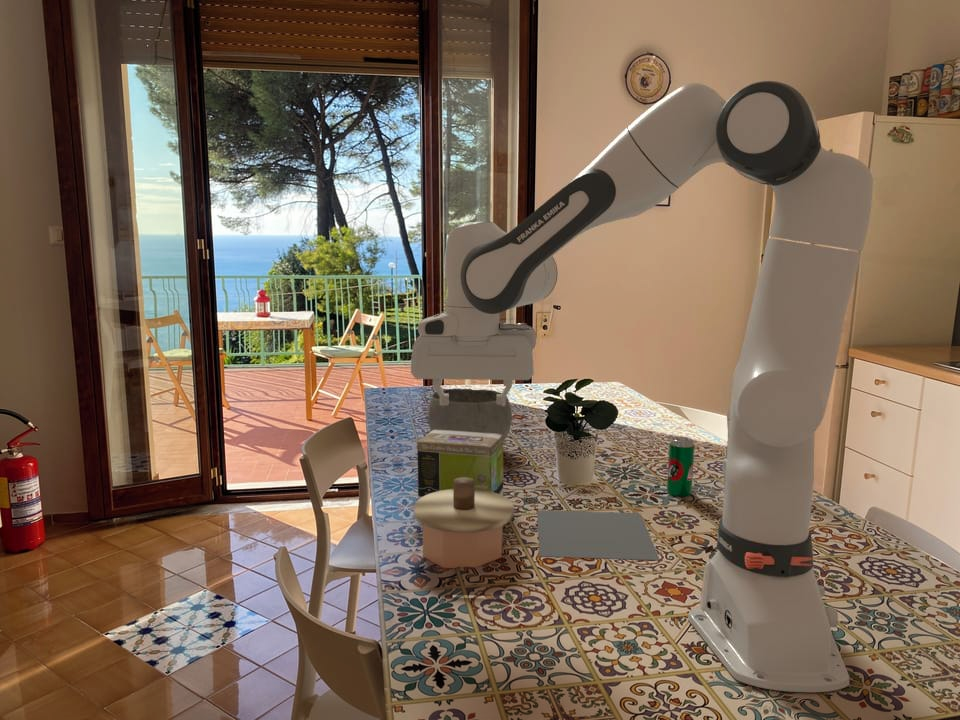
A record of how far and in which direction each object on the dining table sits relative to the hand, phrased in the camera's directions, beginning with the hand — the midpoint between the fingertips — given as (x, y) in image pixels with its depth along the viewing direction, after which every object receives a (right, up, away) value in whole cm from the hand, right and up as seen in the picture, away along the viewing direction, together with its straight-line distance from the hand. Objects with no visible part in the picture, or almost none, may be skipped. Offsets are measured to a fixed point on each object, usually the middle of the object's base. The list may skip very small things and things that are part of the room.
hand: (472, 405), depth 118 cm
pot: (-2, -25, +4) cm, 26 cm away
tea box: (-2, -22, +22) cm, 32 cm away
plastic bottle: (+59, -19, +40) cm, 73 cm away
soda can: (+43, -21, +31) cm, 57 cm away
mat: (+22, -24, +10) cm, 34 cm away
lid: (-1, -18, +2) cm, 19 cm away
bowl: (-1, -16, +58) cm, 60 cm away
